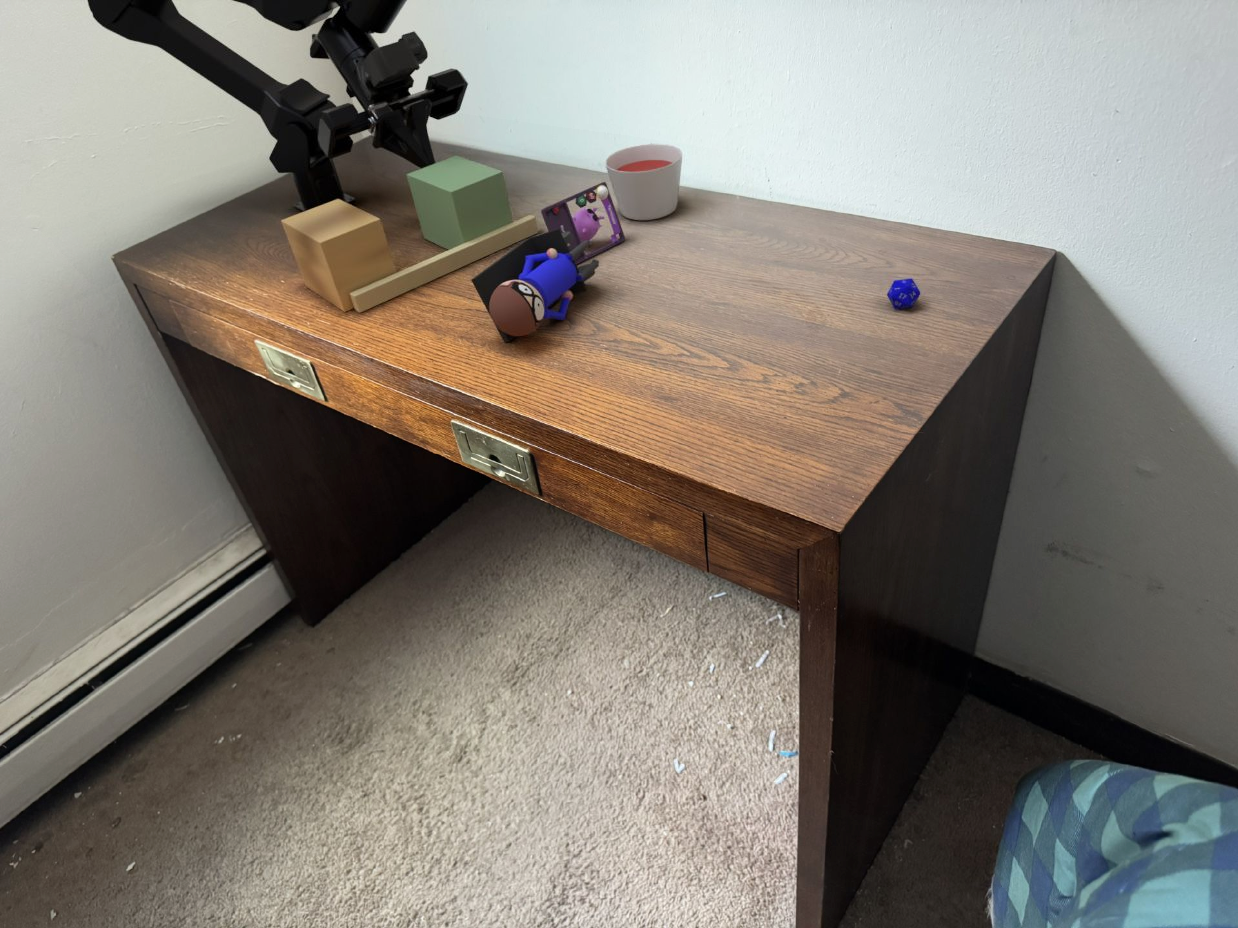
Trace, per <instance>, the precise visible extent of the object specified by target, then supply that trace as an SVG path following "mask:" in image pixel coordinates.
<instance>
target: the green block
mask: <svg viewBox="0 0 1238 928" xmlns="http://www.w3.org/2000/svg"><path fill="white" fill-rule="evenodd" d="M406 179H407V183H408V186H409V189H410V193H411V196H412V200H413V204H414V207H415V210H416V214H417V218H418V222H419V225H420V229H421V232H422V235H423V239H425V240H427V241H428V242H431V243H433V244H435V245H437V246H440V247H441V248H444V249H446V250H447V251H448V250H450V249H453V248H455V247H457V246H459V245H462V244H464V243H466V242H469V241H471V240H473V239H476V238H478V237H480V236H482V235H485V234H487V233H489V232H492V231H494V230H496V229H499V228H501V227H503V226H505V225H508V224H510V223H512V222H514V219H513V214H512V209H511V205H510V200H509V196H508V190H507V185H506V181H505V176H504V171H503V170H499V169H497V168H494V167H491V166H488V165H485V164H483V163H479V162H476V161H473V160H470V159H467V158H464V157H462V156H459V155H454V156H451V157H449V158H446V159H443V160H441V161H438V162H435V164H433V165H430V166H427V167H425V168H422V169H421V168H419V169H417V170H413V171H412V172H409V173H406Z"/></svg>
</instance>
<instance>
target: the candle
mask: <svg viewBox="0 0 1238 928" xmlns="http://www.w3.org/2000/svg"><path fill="white" fill-rule="evenodd" d="M682 163H683V151H682V150H681V149H680V148H679V147H677V146H674V145H670V144H666V143H665V144H664V143H645V144H637V145H633V146H627V147H625V148H622V149H619V150H617V151H615V152H613V153H611V154H610V155H608V156H607V158H606V159H605V161H604V165H605V169H606V172H607V174H608V177H609V181H610V185H611V187H612V191H613V194H614V197H615V200H616V203H617V206H618V210H619V212H620V214H621V216H623V217H624V218H626V219H629V220H633V221H651V220H657V219H661V218H664V217H667V216H668V215H671V214H673V212H675V210H676V209H677V207H678V203H679V195H680V186H681V185H680V183H681V174H682Z"/></svg>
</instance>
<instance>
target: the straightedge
mask: <svg viewBox="0 0 1238 928" xmlns="http://www.w3.org/2000/svg"><path fill="white" fill-rule="evenodd" d="M538 233H539V229H538V222H537V218H536V216H534V215H531V214H529V215H525V216H524V217H522V218H519V219H517V220H515V221H513V222H512V223H510V224H508V225H505V226H503V227H501V228H499V229H496V230H494V231H492V232H489V233H487V234H485V235H482V236H480V237H478V238H476V239H473V240H471V241H469V242H466V243H464V244H462V245H459V246H457V247H455V248H453V249H450V250H448V249H447V250H446V251H444V252H440V253H439V254H436V255H434V256H432V257H429V258H427V259H425V260H423V261H421V262H418V263H416V264H413V265H411V266H409V267H406V268H405V269H402V270H400V271H396V273H395V274H393V275H390V276H388V277H386V278H384V279H381V280H379V281H377V282H374V283H372V284H370V285H368V286H365V287H363V288H361V289H358V290H356V291H354V292H351V293H350V297H351V300H352V302H353V305H354V308H353V309H354V310H355V311H357V312H358V313H359V314H361V313H363V312H365V311H368V310H369V309H372V308H374V307H376V306H378V305H381V304H383V303H385V302H387V301H390V300H391V299H394V298H396V297H398V296H401V295H403V294H405V293H407V292H410V291H412V290H415V289H416V288H418V287H421V286H422V285H425V284H428V283H430V282H431V281H435V280H437V279H439V278H441V277H444V276H445V275H447V274H450V273H451V272H454V271H456V270H459V269H461V268H463V267H465V266H468V265H469V264H472V263H474V262H477V261H478V260H480V259H483V258H485V257H487V256H490V255H492V254H494V253H496V252H498V251H500V250H504V249H505V248H508V247H510V246H512V245H514V244H517V243H518V242H521V241H524V240H526V239H527V238H530V237H533V236H535V235H536V234H538Z"/></svg>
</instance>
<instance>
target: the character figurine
mask: <svg viewBox="0 0 1238 928" xmlns="http://www.w3.org/2000/svg"><path fill="white" fill-rule="evenodd" d="M572 240H573V237H572V235H571V233H570V232H569V231H568V232H564V233H561V232H560V230H559V229H556V230H553V231H549V232H548V231H547V232H543V233H541V234H537V235H533V236H530V237H528V238H525V239H524V240H522V242H520V243H519V244H518V245H516V246H515V247H513V248H512V249H511V250H510V251H508V252H506V253H505V254H504V255H502V257H500V258H499V259H498V260H495V262H493V263H492V264H490V265H489V266H488V267H486V268H485V269H484V270H483V271H481V272H480V273H478V274H477V275H475V276H474V277H473V278H472V279H470V280H471V283H472V284H473V286H474V288H475V290H476V292H477V294H478V296H479V297H480V299H481V301H482V303H483V305H484V307H485V309H486V311H487V313H488V314H489V316H490V318H491V320H492V322H493V324H494V325H495V327H496V330H497V331H498V333H499V335H500V337H501V340H502V341H503V342H504V343H508V342H509V343H510V342H511V340H513V339H514V338H515V337H523V336H527V335H530V334H532V333H533V332H535V331H536V330H537V329H538V328H539V327H540V325H541V323H542V322H543V320H548V319H555V320H558V321H564V320H565V319H566V314H567V310H568V307H569V304H570V301H571V300H573V297H574V295H577V294H581V293H585V292H588V291H589V288H588V287H587V284H586V281H588V280H590V279H591V278H593V276H594V275H595V274H596V269H597V268H599V266H600V260H597V259H593V260H592V261H591V262H590V263H587V264H582V265H579V266H577V264H576V263H575V261H574V260H575V258H576V257H577V256H579V255H580V254H581V253H582V252H585V251H586V250H588V249H589V248H591V247H592V245H591V244H592V240H589V241H588V240H585V241H583V242H582V243H581V244H580V245H578V246H577V247H576V248H575V249H573V250H572V251H571V252H570V251H569V249H568V247H567V244H569V243H570V242H571V241H572ZM560 299H561V302H560V305H559V309H558V311H554V310H550V309H549V308H551V307H552V306H553V305H554V304H555V303H557V302H558V301H559V300H560Z"/></svg>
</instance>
